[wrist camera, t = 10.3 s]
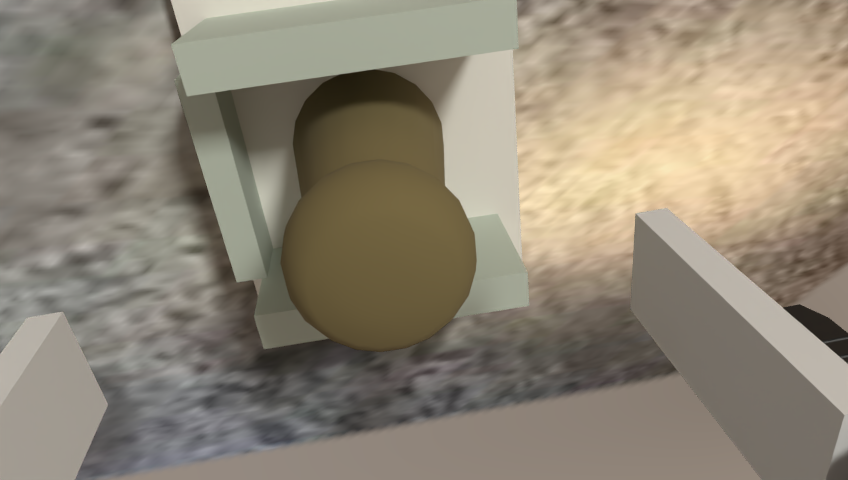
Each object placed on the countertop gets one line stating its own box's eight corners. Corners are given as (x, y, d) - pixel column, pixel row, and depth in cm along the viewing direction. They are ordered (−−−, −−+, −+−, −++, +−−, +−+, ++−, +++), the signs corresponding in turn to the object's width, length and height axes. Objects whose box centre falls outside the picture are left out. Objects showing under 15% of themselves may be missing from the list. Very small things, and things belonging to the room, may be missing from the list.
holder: (264, 298, 29) (246, 384, 23) (170, -26, 22) (116, -7, 17) (517, 257, 29) (555, 333, 24) (500, -71, 23) (549, -66, 17)
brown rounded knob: (471, 161, 26) (547, 310, 16) (353, 238, 27) (356, 422, 17) (388, 36, 23) (417, 123, 13) (260, 127, 24) (201, 270, 14)
